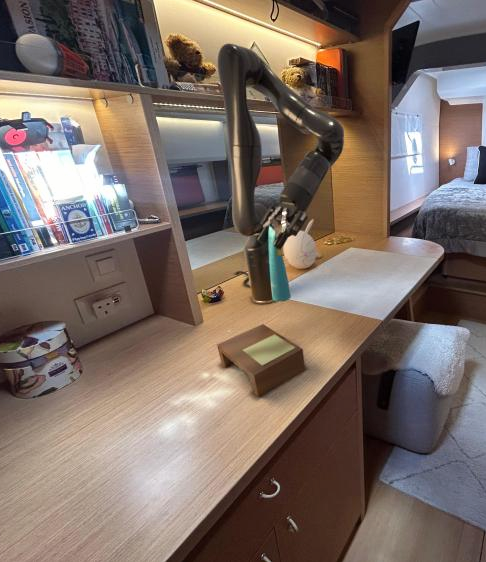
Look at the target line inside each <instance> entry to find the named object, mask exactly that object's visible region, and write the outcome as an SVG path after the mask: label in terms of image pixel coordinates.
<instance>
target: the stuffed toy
mask: <svg viewBox="0 0 486 562" xmlns="http://www.w3.org/2000/svg"><path fill="white" fill-rule="evenodd" d="M314 221H315V219H314V218H313V219H311V220H310V221H309V222H308V224H307V225H306V227H305V230H300V231H299V232H298V234H297V235H296V236H293V235H292V236H291V237H288V239H287V240H286V242H285V244H284V246H283V247H282V250H283V255H284V257H285V260H286V262H288V264H290V266H292V267H294V268H295V269H299V270H305V269H308V268H310V267H311V266H312V265H313V264H314V263H315V261H316V259H319V258H320V259H321V258H322V257H323V255H322V254H321V253H318V252H317V251H318V250H317V246H316V242H315V240H314V238H313V237H312V236H311V235H310V234H309V232H310V230H311V228H312V226H313V224H314Z"/></svg>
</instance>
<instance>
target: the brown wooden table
mask: <svg viewBox="0 0 486 562" xmlns="http://www.w3.org/2000/svg"><path fill="white" fill-rule="evenodd" d="M216 346H217V349H218V350H217V351H218V354H219V358H220V361H221V362H220V363H221V365H222V366H224V368H227V367H229V366H231V365H233V364H234V365H235V366H236V367H238V368H239V369H240V370H241V371H242V372H244V373H245V374H246V375H247V376H248V377H249V378H250V381H251V386H252V390H253V394H254V395H256V396H257V397H258V398H260V397H262V396H263V395H265V394H267V393H268V392H270V391H272V390H273V389H275V388H276V387H278V386H280V385H282V384H283V383H284V382H286V381H288V380H290V379H291V378H293V377H295V376H297V375H298V374H300V373H301V372H303V371H304V370H306V364H305V355H304V349H303V348H302V347H301V346H299V345H297V344H296V343H294V342H293V341H291V340H289V339H288V338H287V337H285V336H284V335H281V334H279V333H278V332H277V331H275V330H273V329H271V328H270V327H268V326H267V325H265V324H264V323H262V324H259V325H257V326H255V327H253V328H251V329H248V330H246V331H244V332H242V333H239V334H237V335H235V336H233V337H230V338H228V339H226V340H224V341H222V342H220V343H217V344H216Z"/></svg>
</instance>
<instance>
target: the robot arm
mask: <svg viewBox="0 0 486 562" xmlns="http://www.w3.org/2000/svg"><path fill="white" fill-rule="evenodd" d="M217 71H218V77H219V82H220V88H221V92H222V93H221V94H222V99H223V104H224V112H225V121H226V129H227V137H228V138H227V140H228V143H227V145H228V153H229V161H230V173H231V187H232V188H231V189H232V209H231V210H232V211H231V213H232V223H233V226H234V229H235V230H236V232H237V233H238V234H240V235H241V236H242V237H248V238H247V240H246V242H245V244H244V245H243V254H244V259H245V263H246V264H245V265H246V269H247V272H246V271H242V270H238V271H236V272H235V275H238V274H243V275H246V276H247V278H246V279H244V280H243V285H244V286H245V287H247V288H250V292H251V297H252V298H251V299H252V301H253V303H255V304H259V305H260V304H261V305H263V304H270V303H273V302H275V301H274V300H273V297H272V288H271V278H270V264H269V242H268V234H269V226H270V227H271V228H272V229H273V230H274V231H275V230H276V228H280V227H281V231H280V232H279V234H278V235H277V236H276V240H275V242H274V244H273V246H274V247H276V248H277V249H281V250H282V249H283V246H284V244H285V242H286V240H287V239H288V237H291V236H292V235H293V236H296V235H297V234H298V232H299V231H301V229H302V228H303V226H304V225H305V223H306V221H307V220H308V218H309V216H308V214H306V212H307V210H308V208H309V207H310V206H311V203H312V201H313V199H314V198H315V197H316V195H317V193H318V191H319V189H320V186H321V185H322V183H323V181H324V179H325V177H326V175H327V174H328V171H329V169H331V168H332V167H333V166H334V164H335V163H336V162H337V161H338V159H339V158H340V156H341V154H342V153H343V150H344V147H345V129H344V127H343V125H342V123H340V121H339V120H338V119H336V118H335V117H334V116H332V115H330V114H328V113H326V112H324V111H321V110H319V109H316V108H315V107H314V106H313V105H311V103H309V102H308V101H306V99H304V98H303V97H301V95H299V94H298V93H296V92H295V91H294V90H293V89H291V88H290V87H289V86H288V85H287V84H286V83H285V82H283V80H282V79H281V78H280V77H279V76H277V74H275V72H274V71H273V70H272V69H271V68H270V67H269V65H268V64H267V63H266V62H265V61H264V59H262V58H261V57H260V55H258V53H256V51H254V50H252V49H250V48H248V47H244V46H241V45H238V44H234V43H225V44H223V45H221V47H220V48H219V51H218V55H217ZM247 88H251V89H253V90H255V91H257V92H259V93H260V94H262V95H263V96H265V97H267V99H268V100H269V101H271V103H272V105H273V106H274V108H275V109H276V111H277V112H278V113H279V114H280V116H281V117H282V118H284V120H286V121H287V122H288V123H289V124H290V125H291V126H293V127H294V128H295V129H297V130H298V132H300V133H302V134H304V135H309V134H313V135H314V136H315V137H316V138H317V144H316V146H315V148H313V150H310V151H307V153H305V155H304V156H303V158H302V159H301V161H300V162H299V165H298V166H297V168H296V169H295V170H294V172H293V173H292V174H291V176H290V178H289V179H288V181H287V182H286V184H285V186H284V188H283V189H282V191H281V193H280V194H279V199H280V203H279V204H278V205H277V206H274V205H273V204H271V205H269V207H266V206H265V205H263V204H262V203H259V202H255V191H256V186H257V184H258V183H257V182H258V180H259V177H260V174H261V171H262V170H261V169H262V166H263V149H262V138H261V134H260V132H259V130H258V128H257V125H256V123H255V121H254V119H253V117H252V114H251V112H250V109H249V104H248V96H247ZM295 226H296V227H295ZM248 281H249V284H248V283H246V282H248Z"/></svg>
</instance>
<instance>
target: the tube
mask: <svg viewBox="0 0 486 562" xmlns="http://www.w3.org/2000/svg"><path fill="white" fill-rule="evenodd" d="M276 238H277V236H276V231H275V229H274V230H273V229H272V228H271V227H270V226H269V234H268V242H269V264H270V278H271V288H272V297H273V300H274V301H273V302H277V303H278V302H279V303H280V302H286V301H289V300H290V299H291V297H292V294H291V289H290V284H289V279H288V274H287V269H286V265H285V260H284V256H283V253H282V248H281V249H277V248H276V247H274V246H273V244H274V242H275V240H276Z"/></svg>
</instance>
